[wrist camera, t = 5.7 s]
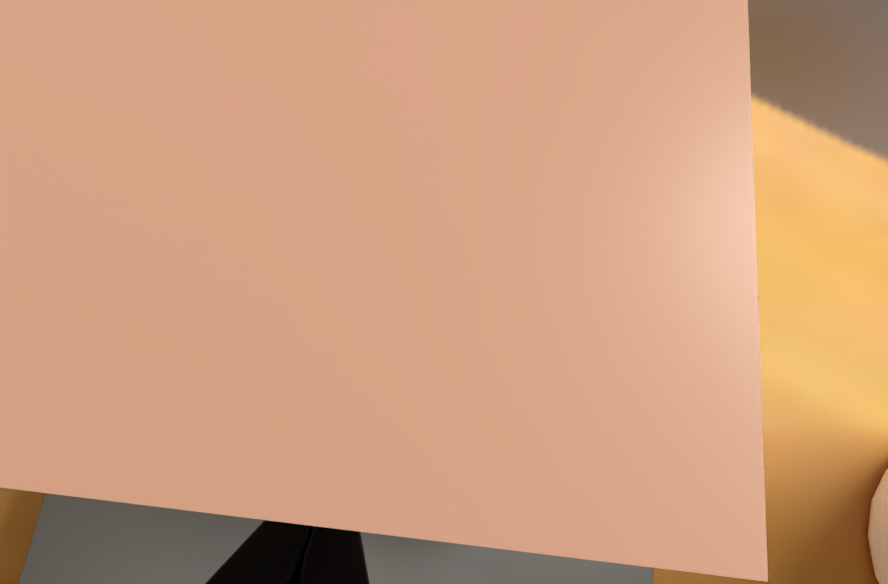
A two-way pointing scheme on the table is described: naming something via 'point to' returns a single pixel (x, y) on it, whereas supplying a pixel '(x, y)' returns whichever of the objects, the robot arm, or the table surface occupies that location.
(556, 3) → the tall rectangular pillar
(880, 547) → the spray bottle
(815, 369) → the table surface
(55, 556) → the base board
